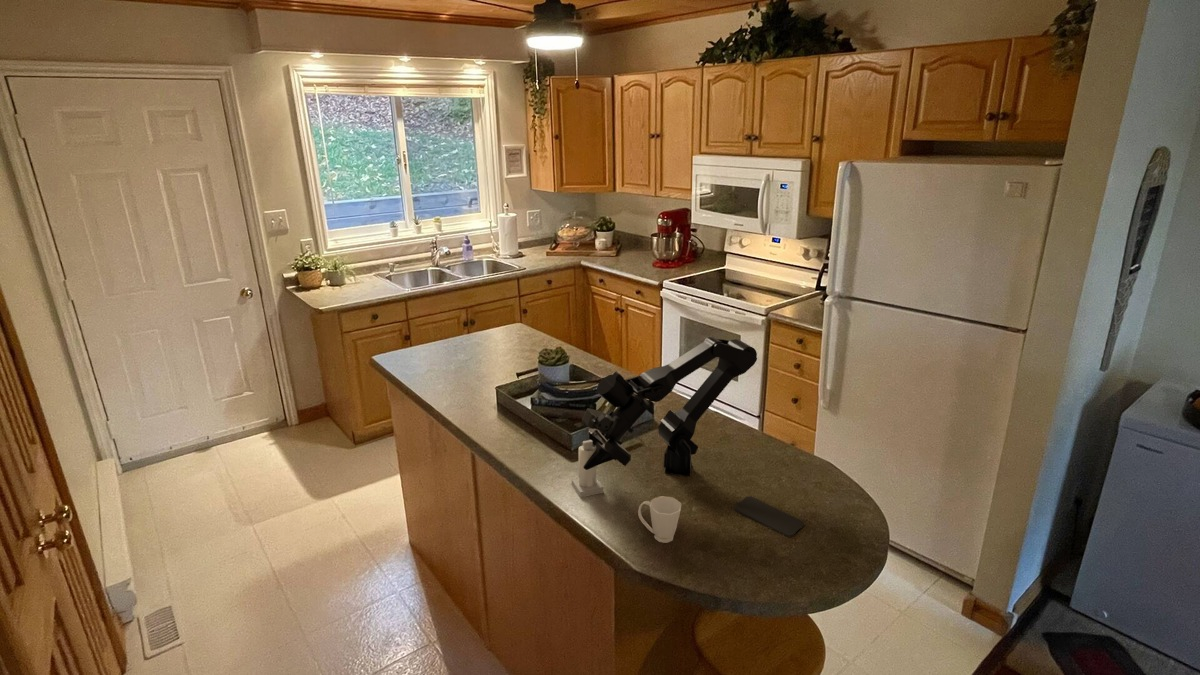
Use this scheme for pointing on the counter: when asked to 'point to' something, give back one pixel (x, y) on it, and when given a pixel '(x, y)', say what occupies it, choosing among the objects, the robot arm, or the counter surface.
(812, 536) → the counter surface
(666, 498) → the cup
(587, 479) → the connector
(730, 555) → the counter surface
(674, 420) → the robot arm
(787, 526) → the phone
